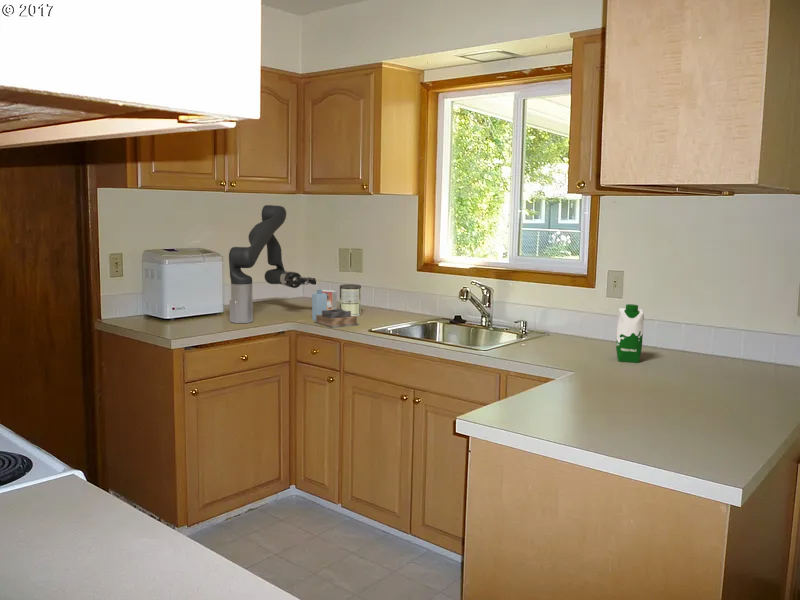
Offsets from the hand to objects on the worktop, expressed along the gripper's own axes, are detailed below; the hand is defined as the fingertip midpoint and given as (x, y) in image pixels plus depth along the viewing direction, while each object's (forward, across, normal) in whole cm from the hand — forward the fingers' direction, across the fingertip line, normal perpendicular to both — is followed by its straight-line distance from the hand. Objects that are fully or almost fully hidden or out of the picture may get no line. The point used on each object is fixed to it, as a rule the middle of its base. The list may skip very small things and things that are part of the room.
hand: (307, 283), depth 324 cm
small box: (-7, +15, +16) cm, 23 cm away
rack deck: (+24, +1, +16) cm, 29 cm away
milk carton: (+140, +50, +15) cm, 150 cm away
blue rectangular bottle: (+11, 0, +16) cm, 19 cm away
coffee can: (+6, +20, +16) cm, 26 cm away
